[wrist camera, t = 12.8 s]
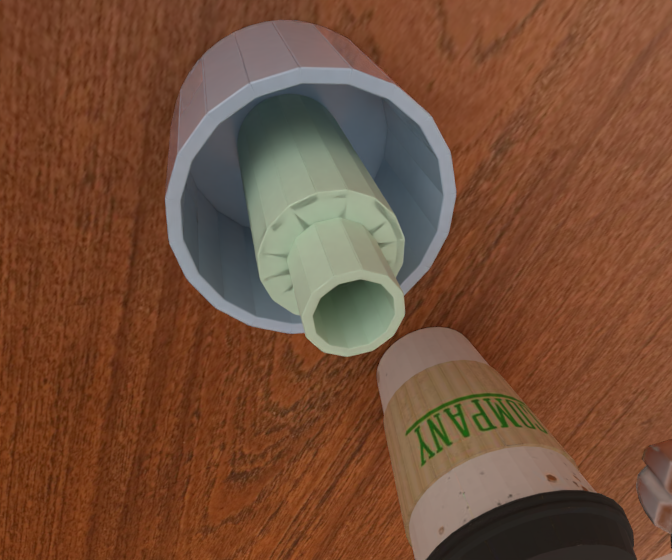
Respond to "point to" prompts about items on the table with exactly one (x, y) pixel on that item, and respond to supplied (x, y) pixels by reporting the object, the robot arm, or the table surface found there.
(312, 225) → the bottle
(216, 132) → the tumbler
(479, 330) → the table surface
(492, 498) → the coffee cup
